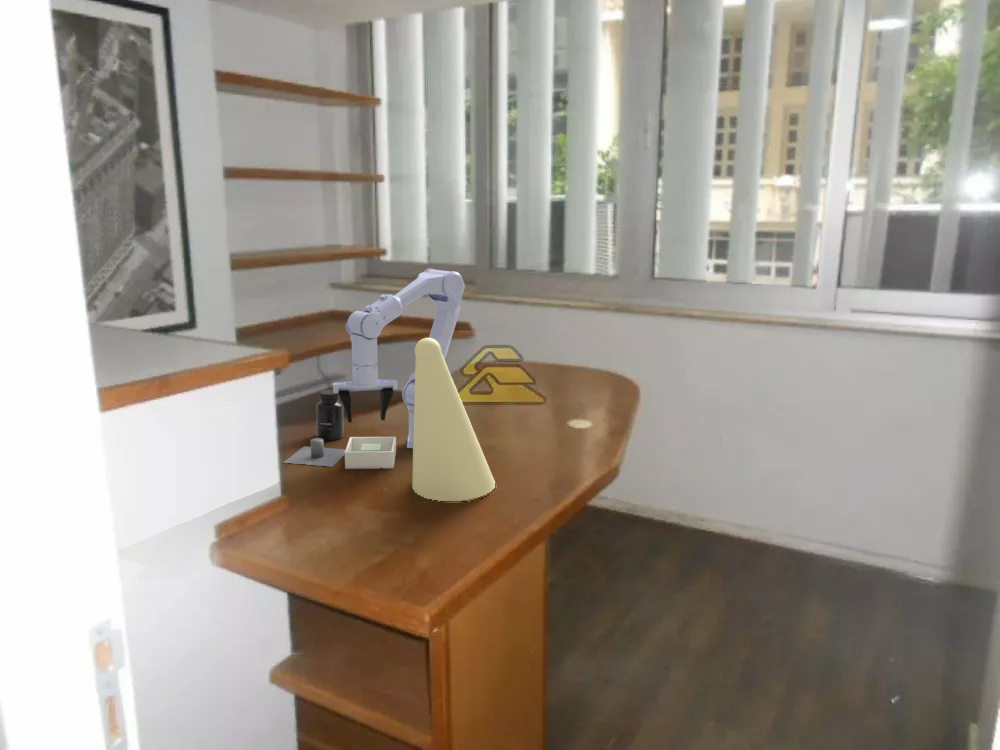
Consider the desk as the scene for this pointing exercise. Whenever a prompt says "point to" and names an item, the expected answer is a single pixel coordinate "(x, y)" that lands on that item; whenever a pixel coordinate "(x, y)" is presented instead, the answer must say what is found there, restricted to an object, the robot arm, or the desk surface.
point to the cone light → (444, 434)
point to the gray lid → (316, 455)
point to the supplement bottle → (329, 416)
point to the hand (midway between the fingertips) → (366, 420)
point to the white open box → (370, 453)
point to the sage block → (371, 447)
